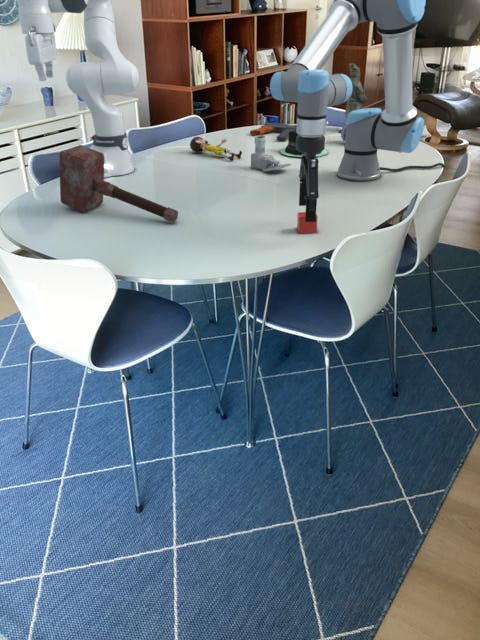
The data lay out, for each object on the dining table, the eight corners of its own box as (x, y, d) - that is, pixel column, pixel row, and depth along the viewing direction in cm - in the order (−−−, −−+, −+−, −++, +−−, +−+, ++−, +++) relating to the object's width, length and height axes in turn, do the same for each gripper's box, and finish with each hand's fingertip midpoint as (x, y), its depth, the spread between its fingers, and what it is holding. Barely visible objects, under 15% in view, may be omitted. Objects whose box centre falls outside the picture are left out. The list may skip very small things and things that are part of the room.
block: (316, 232, 157) (317, 216, 154) (298, 233, 156) (299, 217, 154) (314, 227, 160) (315, 211, 158) (297, 228, 160) (297, 212, 158)
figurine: (227, 151, 220) (181, 135, 232) (225, 170, 224) (181, 153, 236) (247, 145, 228) (203, 130, 241) (246, 163, 233) (202, 147, 245)
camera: (261, 133, 214) (291, 139, 206) (260, 163, 220) (290, 170, 212) (246, 137, 209) (277, 143, 200) (246, 168, 215) (276, 176, 206)
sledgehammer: (186, 184, 163) (79, 143, 174) (168, 194, 155) (57, 150, 167) (180, 236, 173) (79, 194, 184) (163, 248, 165) (58, 203, 177)
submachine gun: (243, 132, 260) (267, 122, 278) (243, 138, 261) (267, 127, 280) (305, 138, 246) (326, 127, 265) (305, 144, 248) (326, 133, 266)
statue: (367, 132, 266) (374, 63, 251) (349, 133, 264) (355, 64, 249) (357, 127, 275) (362, 61, 260) (339, 129, 273) (344, 62, 258)
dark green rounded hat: (332, 145, 241) (326, 158, 224) (294, 164, 249) (286, 177, 233) (317, 113, 235) (310, 124, 219) (279, 133, 244) (269, 145, 228)
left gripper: (39, 27, 149) (49, 82, 156) (56, 25, 167) (64, 75, 173) (15, 27, 149) (26, 83, 155) (34, 25, 166) (43, 75, 173)
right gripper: (333, 145, 134) (327, 228, 145) (317, 125, 156) (313, 199, 166) (302, 145, 134) (299, 229, 144) (291, 125, 156) (288, 199, 166)
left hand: (46, 79), depth 165 cm, fingers open, 8 cm apart
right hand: (306, 213), depth 155 cm, fingers open, 13 cm apart
